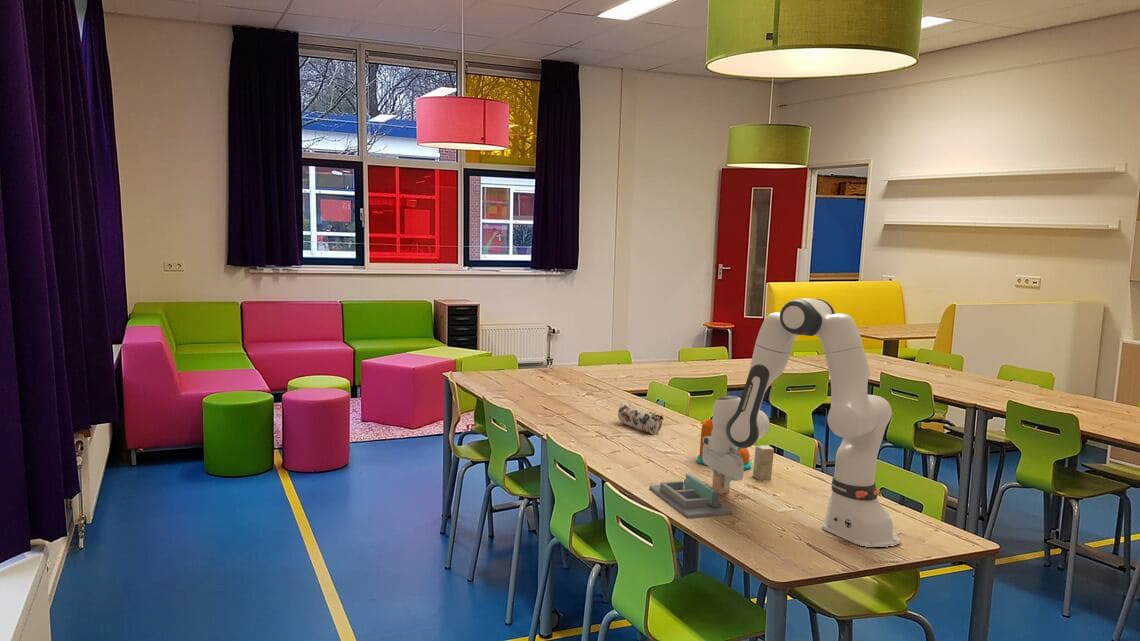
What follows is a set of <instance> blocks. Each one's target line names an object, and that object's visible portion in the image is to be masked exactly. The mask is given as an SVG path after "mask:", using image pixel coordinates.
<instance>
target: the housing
mask: <svg viewBox="0 0 1140 641" xmlns="http://www.w3.org/2000/svg"><path fill="white" fill-rule="evenodd" d="M649 490H650V491H652V492H653V493H654V492H655V493H654V494H656V495H657V496H658V495H659V496H658V497H659V498H661V499H662V500H664V502H666V503H668V504H669V505H670V506H672V507H673V509H675V510H677V511H678V512H679V513H680V514H682V515H683V516H685V517H686V518H687V519H693V518H694V519H695V518H704V517H714V516H715V517H717V516H725V515H733V510H732V509H730V508H729V507H727V506H726V505H725V504H723V503H722V502H720V494H721V493H719V492H713V496H712V505H710V504H709V503H708V499H707V498H700V497H699V496H697V495H696V494H695V490H694V489H687V488H686V487H685V479H684V480H683V481H682V480H677V481H674V480H673V481H662V482H660V484H654V485H653V484H652V485H649Z"/></svg>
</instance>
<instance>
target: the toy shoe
mask: <svg viewBox="0 0 1140 641" xmlns="http://www.w3.org/2000/svg"><path fill="white" fill-rule="evenodd" d="M712 430H713V423H712V418H711V419H705V420H704V421H703V422H702V425H701V430H700V431H701V433H700V441H699V443H700V444H699V445H700V446H699V454H698V455H697V457H696V460H697V463H699V464H701V465H704V466H707V465H706V464H705V463H704V462H703V459H702V454H703V445H704V443H703V437H708V436H711V432H712ZM738 452H739V453H740V455H741V457H742V459H743V464H744V471H745V470H748V469H749V468H751V466H752V464H753V463H752V461H751V460H750V457H751V456H750V452H749V449H748V448H740V447H738Z"/></svg>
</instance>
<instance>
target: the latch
mask: <svg viewBox="0 0 1140 641" xmlns="http://www.w3.org/2000/svg"><path fill="white" fill-rule="evenodd" d="M684 480H685V487H686V488H687V489H694V490H695V494H696V495H697V496H699V497H700V498H707V499H708V503H709V504H710V505H712V496H713V492H716V491H715V490H713V489H712V487H710V486H709V485H707V484H706V483H704V482H703V481H700V480H699V479H698V478H697V477H695V476H693V475H692V474H690V473H685V479H684Z"/></svg>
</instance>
